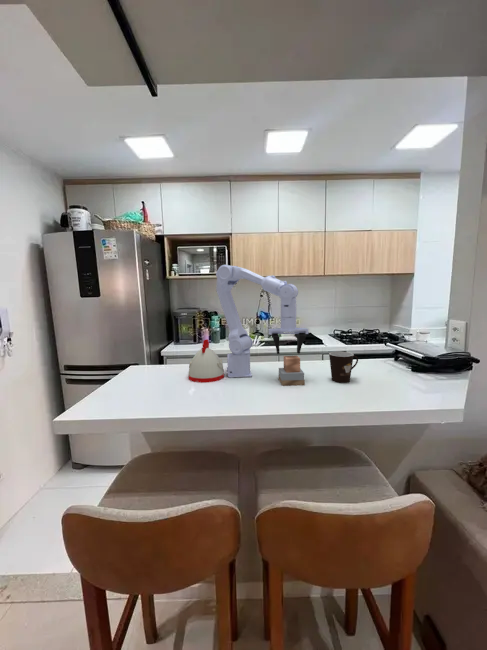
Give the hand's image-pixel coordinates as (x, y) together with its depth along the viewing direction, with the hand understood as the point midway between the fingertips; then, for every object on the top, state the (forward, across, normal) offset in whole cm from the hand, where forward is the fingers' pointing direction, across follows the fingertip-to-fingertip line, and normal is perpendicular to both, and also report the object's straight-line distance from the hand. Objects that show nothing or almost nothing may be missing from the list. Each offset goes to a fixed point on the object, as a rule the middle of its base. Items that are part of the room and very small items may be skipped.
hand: (288, 353), depth 114 cm
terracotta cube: (+6, +1, -3) cm, 7 cm away
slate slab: (+8, +1, -2) cm, 9 cm away
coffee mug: (+10, +21, -2) cm, 23 cm away
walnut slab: (+11, +1, -3) cm, 11 cm away
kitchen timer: (+11, -31, +7) cm, 34 cm away
